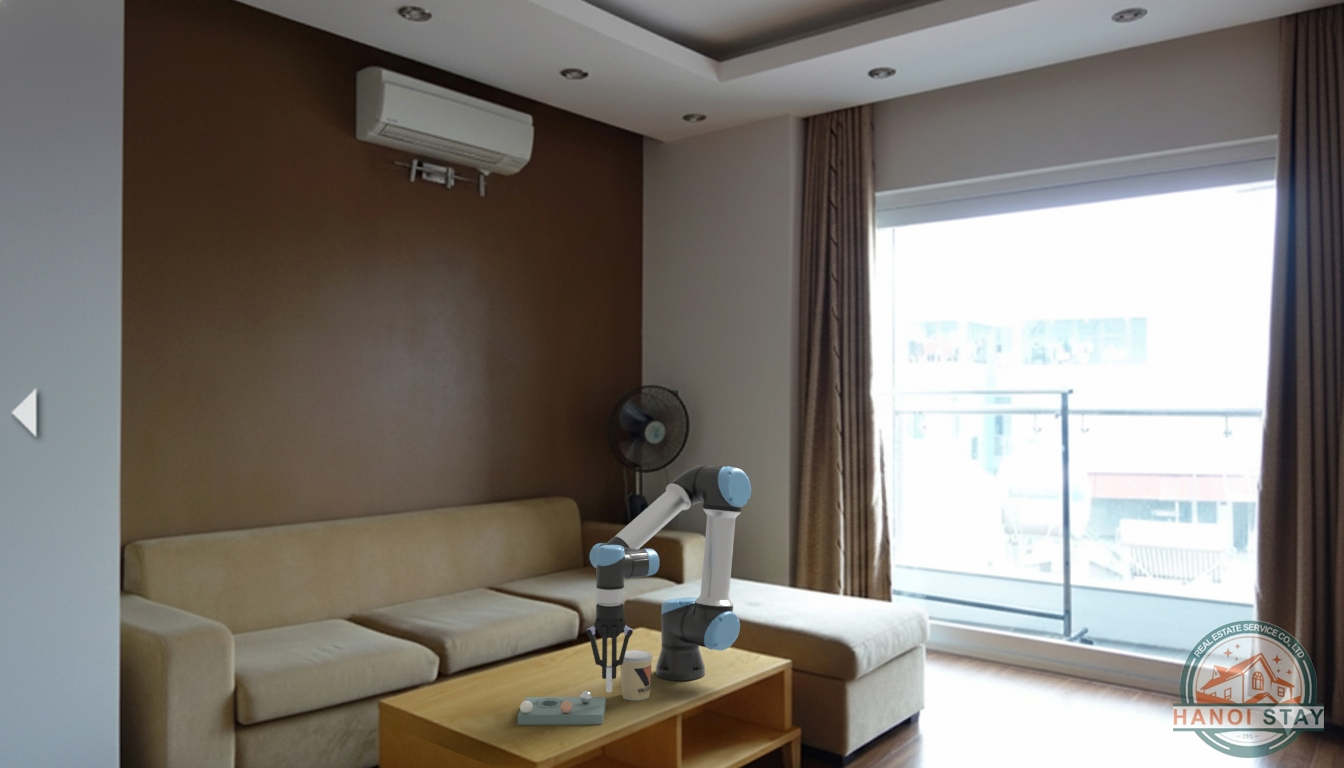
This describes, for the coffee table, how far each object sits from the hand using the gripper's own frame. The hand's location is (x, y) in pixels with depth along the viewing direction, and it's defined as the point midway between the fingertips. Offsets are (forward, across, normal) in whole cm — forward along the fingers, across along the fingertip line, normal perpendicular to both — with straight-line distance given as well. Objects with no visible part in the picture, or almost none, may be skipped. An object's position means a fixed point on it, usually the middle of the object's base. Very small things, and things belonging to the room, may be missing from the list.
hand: (609, 690), depth 258 cm
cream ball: (+2, +21, +8) cm, 23 cm away
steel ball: (+2, +6, 0) cm, 6 cm away
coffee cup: (+6, -7, -14) cm, 17 cm away
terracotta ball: (+2, +11, +8) cm, 13 cm away
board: (+6, +12, +2) cm, 14 cm away
